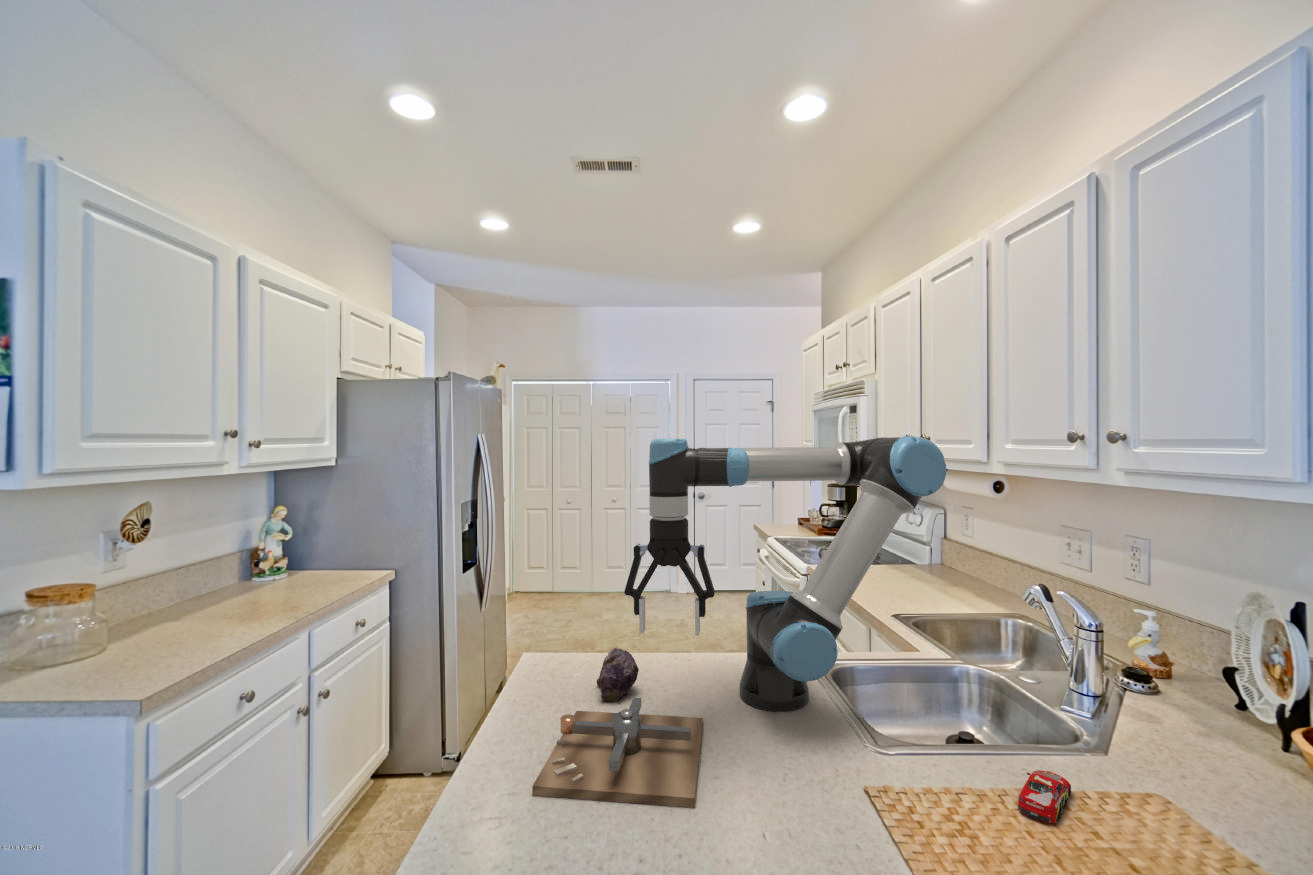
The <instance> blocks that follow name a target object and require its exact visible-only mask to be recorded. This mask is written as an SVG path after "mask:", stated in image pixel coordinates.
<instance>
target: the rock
mask: <svg viewBox="0 0 1313 875" xmlns="http://www.w3.org/2000/svg"><path fill="white" fill-rule="evenodd" d="M639 671H640V669H639V667H638V665H637V663H636V659H635V658H634V657H633V656H632V654H631V653H630V652H629V651H628V650H624V649H623V648H617V647H614V648H613V649H611V650H609V652H608V653H607V655H606V656H605V657H604V658H603V661H602V667H601V670H600V671H599V676H598V678H597V679H596V685H597V686H598V687H600V692H601V693H600V698H601V699H602V701H605V702H610V703H613V702H617V701H618V700H620V698H621V697H622V696H623V695H628V694H629V693H630V692H631V691H630V690H631V688H632V686H633V685H635V682H636V681H637V679H638V674H639Z"/></svg>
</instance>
